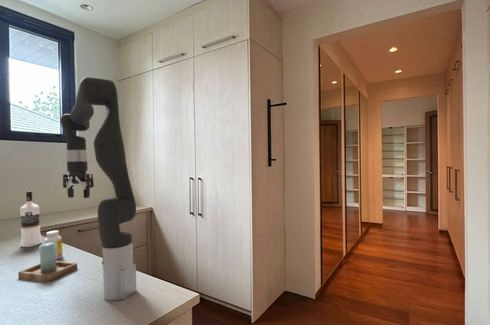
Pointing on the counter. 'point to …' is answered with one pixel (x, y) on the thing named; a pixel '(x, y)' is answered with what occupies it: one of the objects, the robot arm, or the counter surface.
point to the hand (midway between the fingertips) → (78, 197)
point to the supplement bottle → (54, 237)
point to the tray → (36, 274)
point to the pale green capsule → (48, 257)
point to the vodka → (30, 223)
